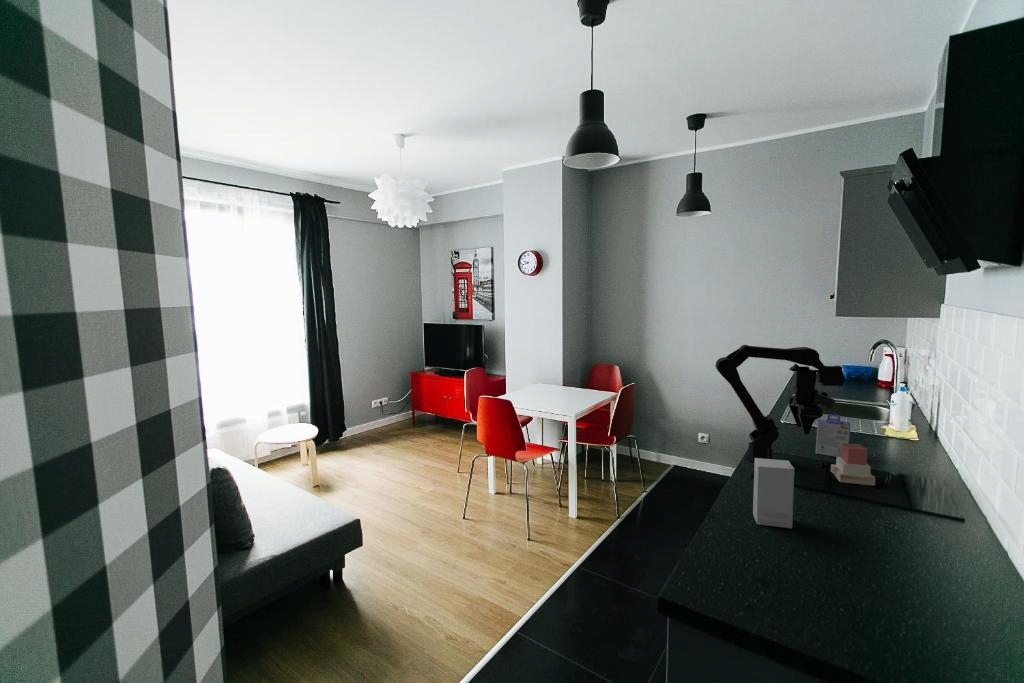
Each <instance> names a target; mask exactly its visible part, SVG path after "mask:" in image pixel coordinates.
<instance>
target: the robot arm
mask: <svg viewBox="0 0 1024 683" xmlns="http://www.w3.org/2000/svg"><path fill="white" fill-rule="evenodd" d="M749 358H757V359H767V360H778V361H780V360H781V361H787V362H791V363H794V364H793V365H792V366H791V367H789V371H791V372H792V373H793V372H795V385H793V390H794V395H790V396H788V397H787V401H786V402H787V404H788V407H789V409H790V413H791V414H792V417H793V419H794V421H795V424H796V427H797V428H802V430H803V431H802V432H803V434H804V435H809V434H810V432H811V429H812V427H813V424H814V423H815V421H816V420H817V419H821V417H823V416H824V410H823V409H822V408H821V407H820V406H823V407H826V408H827V409H829V410H832V409H833V407H834V405H835V404H836V402H837V401H836V400H835V399H834V398H832V397H830V396H829V394H828V393H827V392H825V391H823V390H821V391H820V392H819V391H818V389H817V387H816V385H817V383H818V384H820V386H822V387H823V386H824V387H840V388H841V387H843V386H844V385H845V375H844V371H843V366H842V365H824V363H823V362H822V360H821V359H820V353H819V352H818V351H817V350H816V349H815V348H811V347H808V346H799V347H789V348H780V347H768V346H756V345H755V346H754V345H748V344H742V345H741V346H740V347H739V348H737V349H736V350H733V351H732V352H731V353H729V354H728V355H726V356H725V357H720V358H718V359H717V360H716V362H715V369H716V371H717V372H718V373H719V374H720V375H721V376H722V377H723V378H724V379H725V381H726V382H727V383H729V385H730V386H731V388H732V389H733V390H734V393H735V395H736V396H737V397H738V398H739V401H740V403H741V404H742V405H743V407H744V408H745V409H746V412H747V413H748V414H749V416H750V418H751V421H752V424H753V426H754V429H753V430H752V431H751V432H750V433H749V434H748V435H749V436H748V437H749V439H750V441H749V442H748V454H747V456H745V459H746V460H748V461H750V462H751V463H753V465H754V464H755V458H761V459H773V448H772V447H773V446H772V445H773V443H774V442H776V441H777V440H778V439H779V437H780V433H779V430H780V428H779V427H778V426H777V425H776V424H775V422H774V420H773V418H772V417H771V416H770V415H769V414H767V415H764V413H763V412H762V410H760V408H759V406H758V404H757V403H756V402H755V400H754V398H753V397H752V396H751V394H750V392H749V391H748V390H747V388H746V386H745V384H744V383H743V381H742V380H741V377H740V374H739V370H738V369H737V368H738V367H740V366H741V365H742V364H744V362H745V361H747V360H748V359H749ZM799 365H800V366H799ZM801 365H802V366H801ZM810 367H812V368H815V369H811V368H810ZM819 405H820V406H819Z"/></svg>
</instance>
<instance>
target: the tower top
mask: <svg viewBox="0 0 1024 683" xmlns="http://www.w3.org/2000/svg"><path fill="white" fill-rule="evenodd" d="M835 465H836V466H837V467H838V468H839V469H840V470H841V472H842V473H845V474H854V475H863V476H870V473H871V468H872V466H870V465H869V464H868V463H866V465H857V464H847V463H846V462H845V461H844V460H843V459H841V457H836V462H835Z"/></svg>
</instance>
